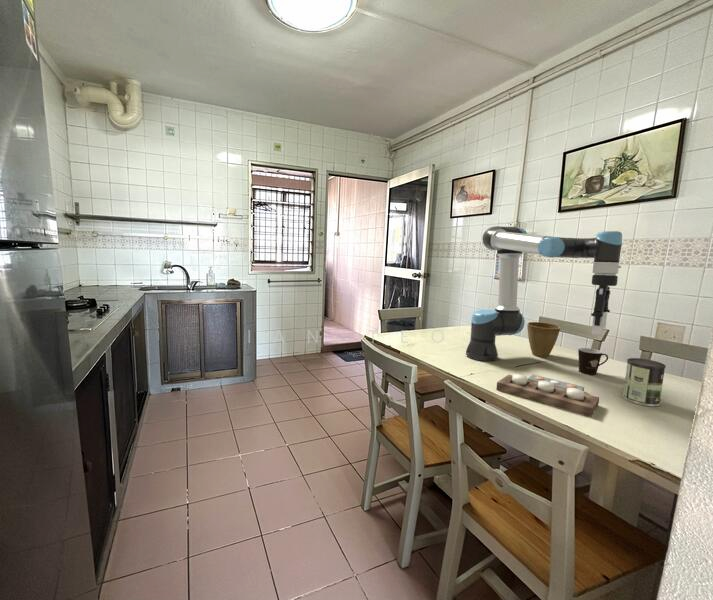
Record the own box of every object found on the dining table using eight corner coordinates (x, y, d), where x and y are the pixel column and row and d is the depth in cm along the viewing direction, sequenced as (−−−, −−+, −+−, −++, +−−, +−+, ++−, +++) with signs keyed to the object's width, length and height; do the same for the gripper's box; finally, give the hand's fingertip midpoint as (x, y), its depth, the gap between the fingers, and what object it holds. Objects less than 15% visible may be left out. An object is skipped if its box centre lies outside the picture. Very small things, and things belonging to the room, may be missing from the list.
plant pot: (521, 355, 172) (523, 324, 170) (528, 349, 183) (531, 320, 181) (554, 361, 163) (557, 329, 160) (559, 355, 174) (563, 324, 172)
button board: (496, 389, 127) (496, 382, 126) (508, 381, 135) (508, 374, 135) (591, 417, 106) (592, 408, 106) (598, 405, 115) (599, 397, 114)
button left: (509, 382, 126) (510, 376, 126) (514, 379, 130) (515, 373, 130) (524, 386, 123) (524, 380, 123) (528, 383, 126) (529, 376, 126)
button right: (564, 397, 114) (565, 390, 114) (568, 393, 117) (568, 386, 117) (581, 402, 110) (582, 394, 110) (585, 397, 114) (585, 390, 114)
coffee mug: (577, 373, 146) (579, 351, 145) (574, 368, 154) (577, 346, 152) (609, 378, 141) (612, 355, 139) (605, 372, 148) (608, 350, 147)
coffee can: (656, 398, 121) (661, 361, 120) (663, 409, 113) (669, 369, 111) (620, 392, 127) (625, 356, 125) (624, 401, 118) (629, 363, 116)
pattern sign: (526, 383, 134) (527, 377, 133) (532, 379, 139) (532, 373, 138) (579, 397, 121) (580, 391, 121) (583, 391, 126) (584, 386, 126)
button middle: (535, 389, 120) (536, 383, 120) (540, 386, 124) (540, 379, 123) (551, 393, 117) (552, 387, 116) (555, 389, 120) (555, 383, 120)
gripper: (614, 276, 110) (607, 338, 113) (620, 274, 129) (614, 328, 131) (587, 274, 115) (581, 335, 118) (597, 273, 134) (591, 325, 136)
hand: (598, 331), depth 125 cm, fingers open, 13 cm apart
